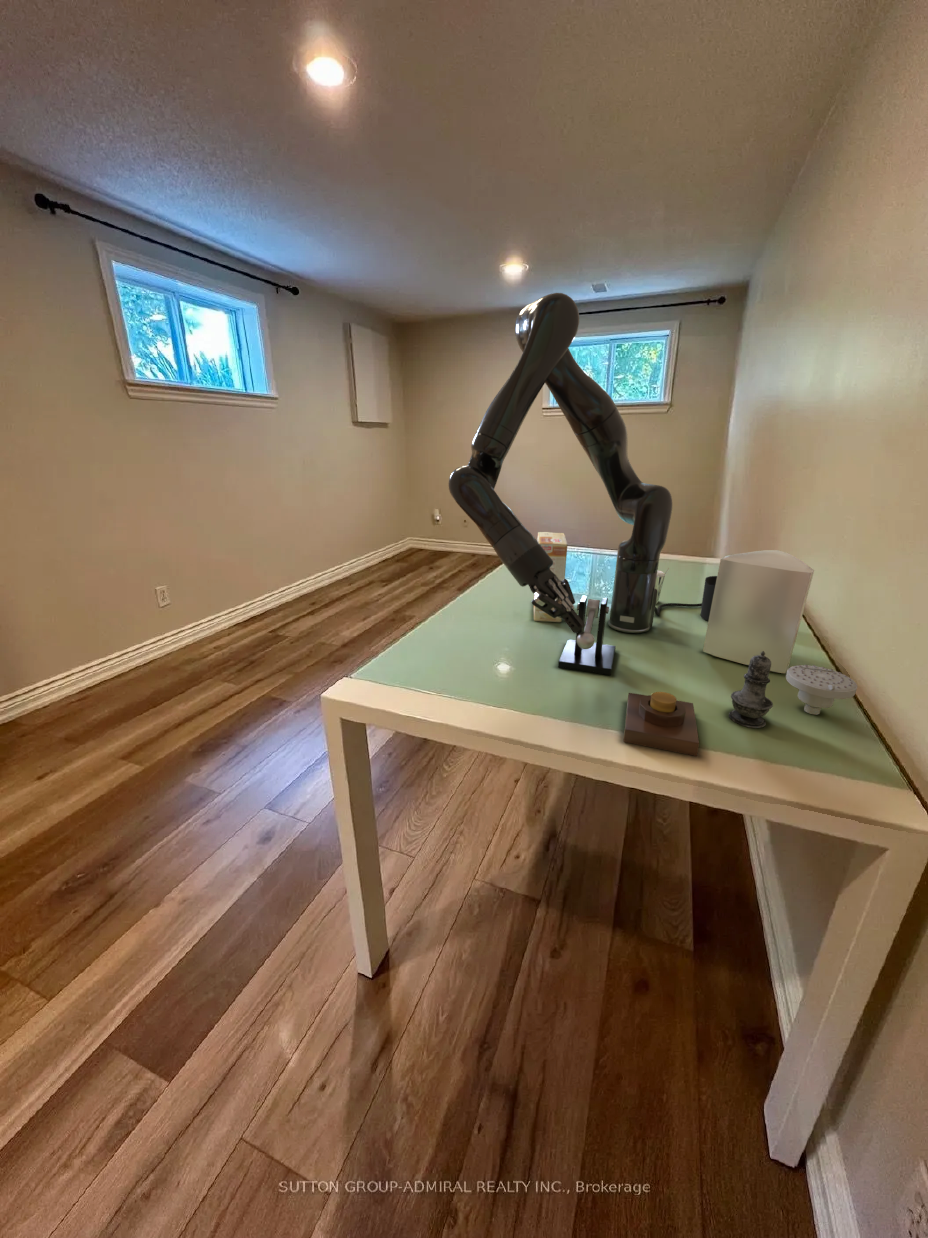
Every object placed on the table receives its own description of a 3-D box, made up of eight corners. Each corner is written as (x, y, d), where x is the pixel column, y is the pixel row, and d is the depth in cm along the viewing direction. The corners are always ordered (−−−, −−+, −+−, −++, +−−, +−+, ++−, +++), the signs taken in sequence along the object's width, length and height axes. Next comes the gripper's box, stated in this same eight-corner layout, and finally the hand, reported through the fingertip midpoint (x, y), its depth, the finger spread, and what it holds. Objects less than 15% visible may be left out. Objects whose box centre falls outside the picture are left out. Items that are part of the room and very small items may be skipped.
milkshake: (665, 605, 133) (670, 569, 130) (644, 604, 134) (649, 568, 131) (662, 600, 138) (667, 565, 134) (642, 599, 139) (647, 564, 135)
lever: (592, 654, 88) (593, 640, 86) (574, 651, 89) (575, 637, 87) (601, 611, 98) (602, 598, 96) (585, 609, 99) (586, 596, 97)
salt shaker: (719, 710, 81) (733, 643, 77) (752, 709, 82) (768, 643, 78) (740, 729, 76) (757, 659, 72) (776, 728, 76) (795, 658, 72)
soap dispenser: (700, 654, 103) (720, 551, 95) (722, 636, 113) (741, 541, 105) (783, 677, 93) (813, 564, 86) (798, 655, 103) (826, 552, 96)
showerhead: (798, 681, 76) (782, 656, 85) (787, 722, 78) (772, 693, 87) (871, 691, 73) (846, 664, 82) (857, 733, 75) (835, 702, 84)
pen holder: (741, 617, 125) (749, 579, 121) (738, 628, 117) (746, 588, 114) (701, 610, 130) (708, 574, 126) (695, 620, 122) (702, 582, 119)
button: (649, 699, 77) (651, 689, 77) (674, 703, 76) (676, 694, 76) (649, 710, 74) (651, 700, 73) (675, 715, 73) (677, 705, 72)
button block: (627, 703, 83) (630, 682, 82) (690, 714, 80) (695, 693, 79) (623, 741, 73) (626, 718, 71) (696, 756, 69) (701, 732, 68)
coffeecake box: (533, 602, 135) (537, 531, 128) (559, 603, 134) (565, 532, 127) (532, 621, 121) (537, 542, 114) (561, 622, 120) (568, 543, 113)
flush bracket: (610, 675, 93) (618, 612, 89) (558, 667, 96) (563, 605, 92) (614, 651, 104) (622, 594, 99) (567, 645, 107) (572, 588, 102)
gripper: (520, 549, 84) (583, 630, 82) (550, 537, 94) (606, 608, 93) (492, 575, 88) (551, 652, 87) (524, 560, 99) (577, 629, 97)
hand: (580, 629), depth 90 cm, fingers closed
